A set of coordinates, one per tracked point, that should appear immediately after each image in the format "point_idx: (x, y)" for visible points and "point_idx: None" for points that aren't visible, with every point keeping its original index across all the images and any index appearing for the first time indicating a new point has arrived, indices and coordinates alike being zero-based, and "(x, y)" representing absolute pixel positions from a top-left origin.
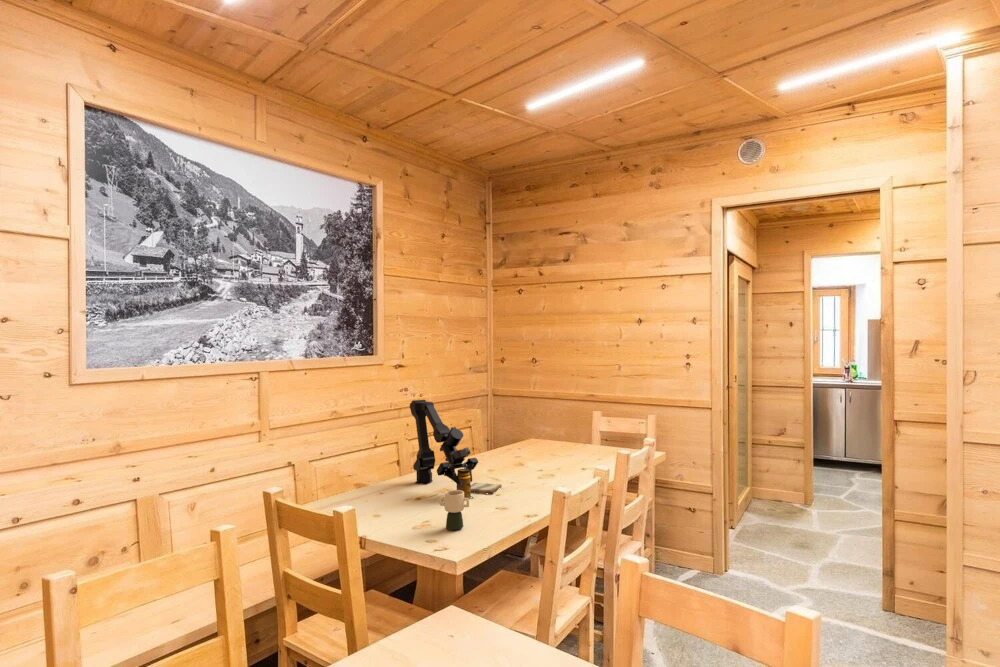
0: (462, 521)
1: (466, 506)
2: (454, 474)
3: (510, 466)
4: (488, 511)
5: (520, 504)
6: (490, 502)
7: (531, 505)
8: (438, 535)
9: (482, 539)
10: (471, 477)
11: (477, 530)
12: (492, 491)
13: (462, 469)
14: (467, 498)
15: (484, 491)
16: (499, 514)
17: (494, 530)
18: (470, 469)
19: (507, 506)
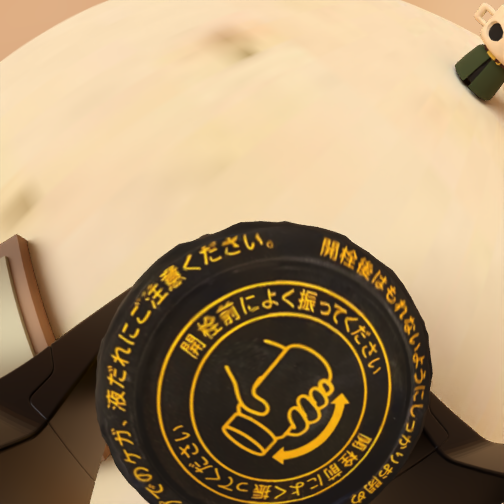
0: (466, 54)
1: (479, 19)
2: (443, 409)
3: None
4: (312, 58)
5: (130, 31)
6: (185, 121)
7: (123, 11)
8: (501, 98)
9: (433, 22)
10: (112, 309)
11: (427, 37)
12: (12, 239)
13: (254, 484)
14: (488, 4)
15: (32, 296)
16: (302, 24)
17: (392, 11)
18: (6, 399)
19: (191, 40)
